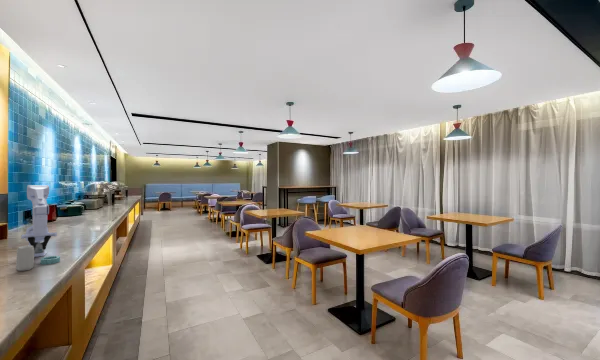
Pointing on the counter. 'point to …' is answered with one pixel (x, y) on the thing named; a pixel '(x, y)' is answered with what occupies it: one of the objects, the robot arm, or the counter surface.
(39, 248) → the steel peg
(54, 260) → the teal bead ring
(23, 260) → the beverage can
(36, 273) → the counter surface
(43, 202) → the robot arm
